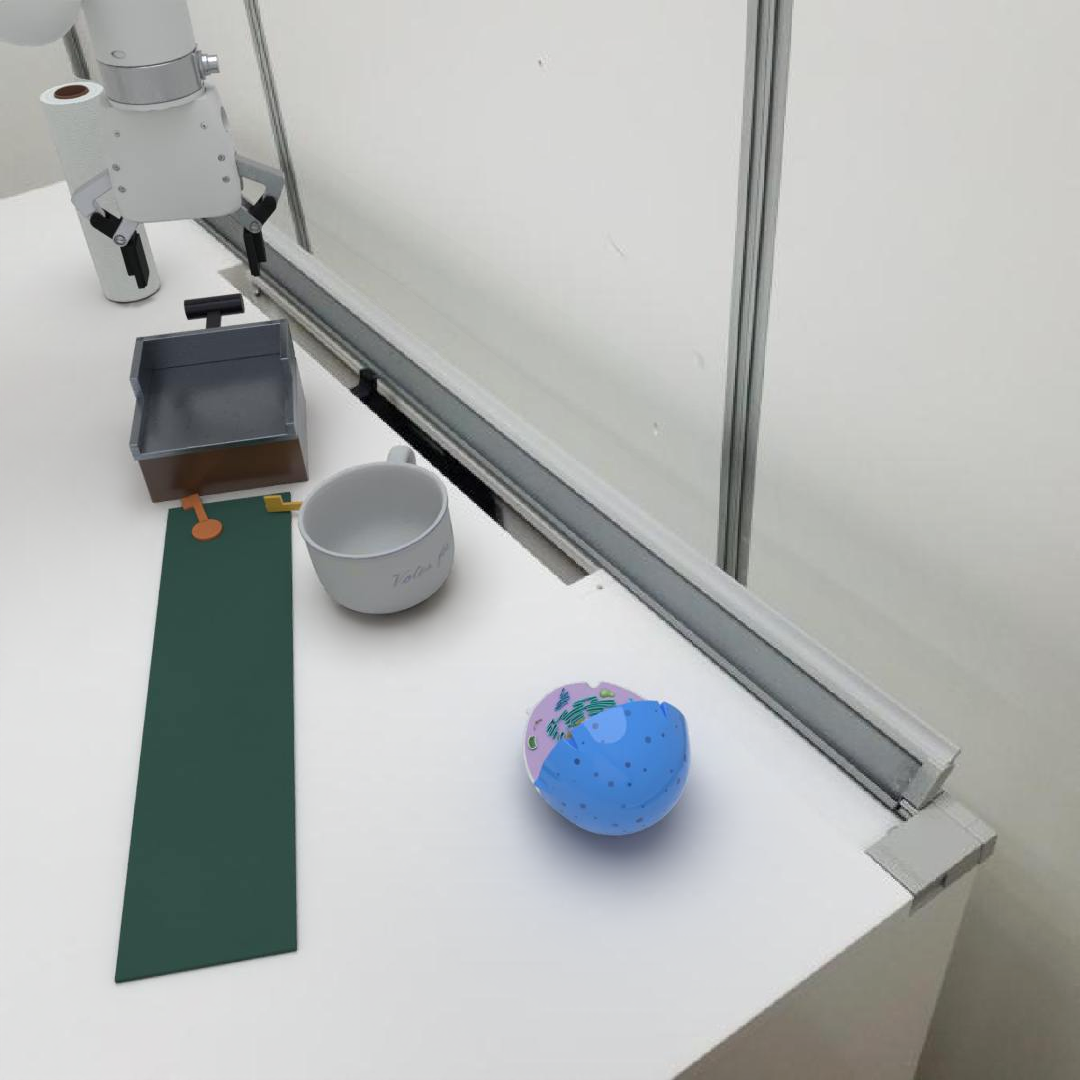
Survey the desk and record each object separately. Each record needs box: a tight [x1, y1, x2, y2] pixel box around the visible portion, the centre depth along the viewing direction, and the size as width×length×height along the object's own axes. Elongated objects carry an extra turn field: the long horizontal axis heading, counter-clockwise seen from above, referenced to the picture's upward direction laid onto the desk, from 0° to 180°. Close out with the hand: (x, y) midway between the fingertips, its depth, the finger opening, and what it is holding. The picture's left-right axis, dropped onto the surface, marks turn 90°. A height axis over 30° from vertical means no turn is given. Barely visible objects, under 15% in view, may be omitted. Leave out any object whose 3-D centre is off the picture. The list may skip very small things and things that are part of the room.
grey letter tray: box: [128, 292, 297, 462], centre depth 98 cm, size 18×13×4 cm
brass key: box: [264, 495, 304, 512], centre depth 93 cm, size 6×2×1 cm
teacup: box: [297, 444, 455, 615], centre depth 86 cm, size 14×11×8 cm
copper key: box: [179, 493, 223, 541], centre depth 94 cm, size 6×2×1 cm, turn 25°
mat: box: [114, 491, 298, 984], centre depth 80 cm, size 42×10×1 cm, turn 10°
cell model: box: [521, 680, 692, 837], centre depth 69 cm, size 10×12×10 cm
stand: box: [137, 356, 309, 503], centre depth 100 cm, size 12×13×5 cm
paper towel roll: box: [38, 74, 161, 303], centre depth 118 cm, size 7×6×21 cm
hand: (200, 275), depth 101 cm, fingers open, 9 cm apart
